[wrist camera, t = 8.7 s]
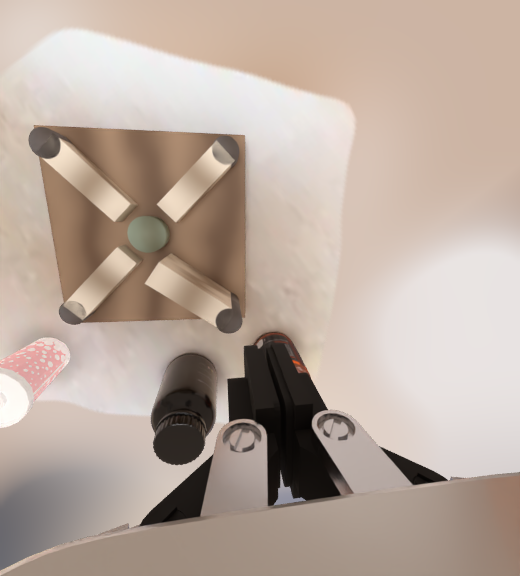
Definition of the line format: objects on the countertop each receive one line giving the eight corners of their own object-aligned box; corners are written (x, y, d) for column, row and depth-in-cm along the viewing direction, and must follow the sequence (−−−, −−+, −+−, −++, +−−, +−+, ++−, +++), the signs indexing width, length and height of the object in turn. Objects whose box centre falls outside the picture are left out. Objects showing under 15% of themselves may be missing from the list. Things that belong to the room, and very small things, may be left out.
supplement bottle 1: (186, 405, 39) (169, 486, 27) (154, 370, 37) (123, 441, 25) (227, 379, 39) (228, 449, 27) (198, 342, 37) (186, 401, 25)
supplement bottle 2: (243, 342, 37) (251, 394, 27) (284, 323, 37) (308, 368, 27) (262, 377, 39) (276, 439, 28) (300, 359, 39) (329, 414, 28)
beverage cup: (22, 328, 33) (-114, 404, 20) (77, 334, 34) (-17, 411, 21) (23, 373, 35) (-104, 473, 21) (76, 378, 36) (-13, 476, 22)
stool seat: (78, 315, 34) (55, 331, 29) (49, 132, 29) (15, 116, 24) (243, 310, 36) (246, 324, 32) (243, 141, 31) (246, 128, 27)
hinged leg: (243, 299, 33) (247, 317, 27) (230, 317, 33) (232, 338, 28) (171, 252, 31) (159, 261, 25) (158, 271, 31) (144, 284, 25)
